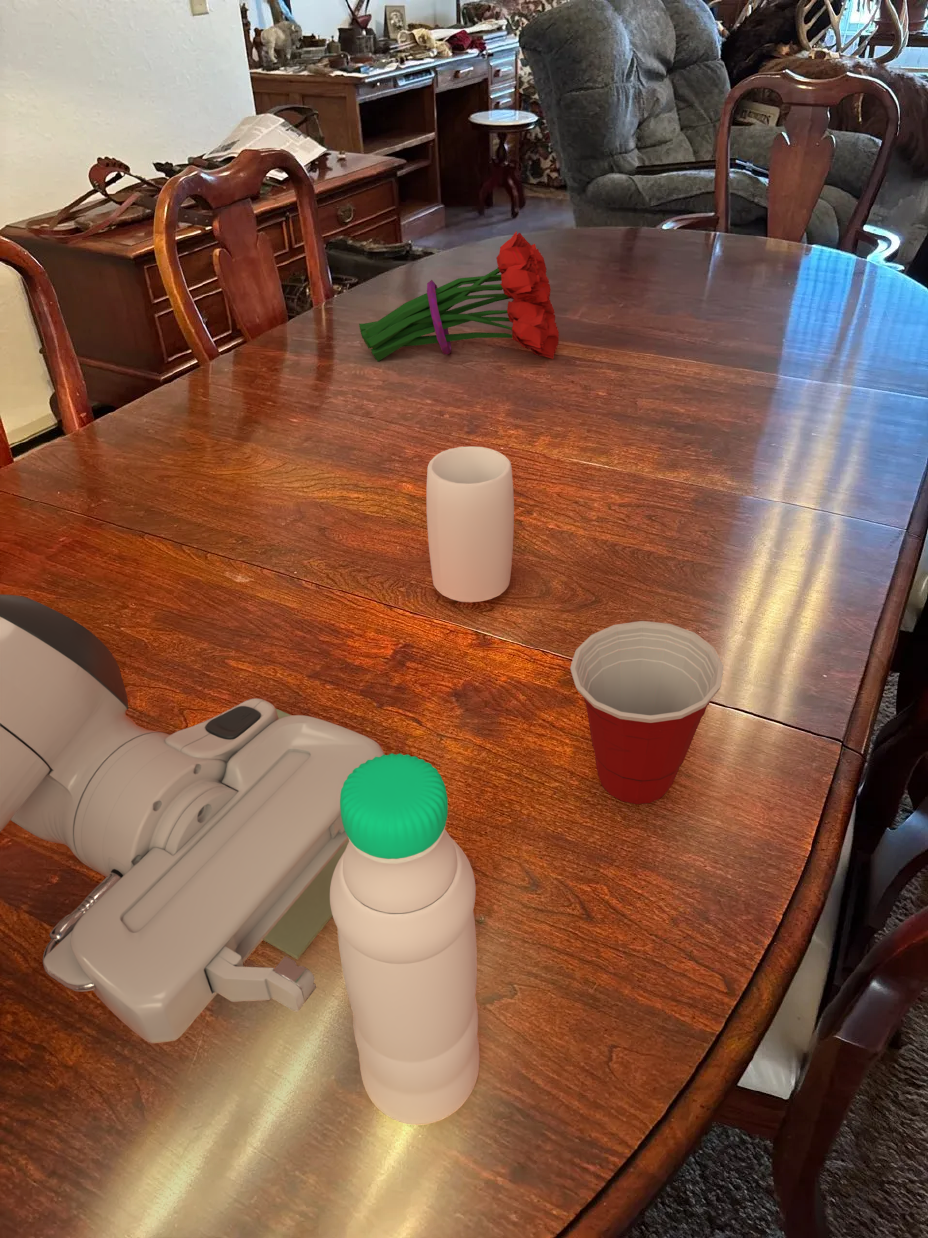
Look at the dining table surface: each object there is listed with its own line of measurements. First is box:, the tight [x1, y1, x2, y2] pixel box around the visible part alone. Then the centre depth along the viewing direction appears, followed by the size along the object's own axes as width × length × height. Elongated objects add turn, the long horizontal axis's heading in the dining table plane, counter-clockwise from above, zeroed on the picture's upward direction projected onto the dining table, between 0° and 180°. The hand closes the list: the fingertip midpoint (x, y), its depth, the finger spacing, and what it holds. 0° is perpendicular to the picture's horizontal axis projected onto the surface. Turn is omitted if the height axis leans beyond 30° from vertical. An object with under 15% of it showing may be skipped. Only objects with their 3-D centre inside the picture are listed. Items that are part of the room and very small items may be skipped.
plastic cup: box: [569, 620, 724, 805], centre depth 70 cm, size 11×11×12 cm
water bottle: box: [330, 752, 481, 1126], centre depth 48 cm, size 7×7×25 cm
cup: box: [425, 445, 515, 603], centre depth 90 cm, size 8×8×14 cm
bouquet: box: [358, 230, 560, 362], centre depth 139 cm, size 20×16×30 cm
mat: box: [262, 707, 349, 960], centre depth 71 cm, size 18×18×1 cm
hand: (362, 921), depth 48 cm, fingers open, 8 cm apart
